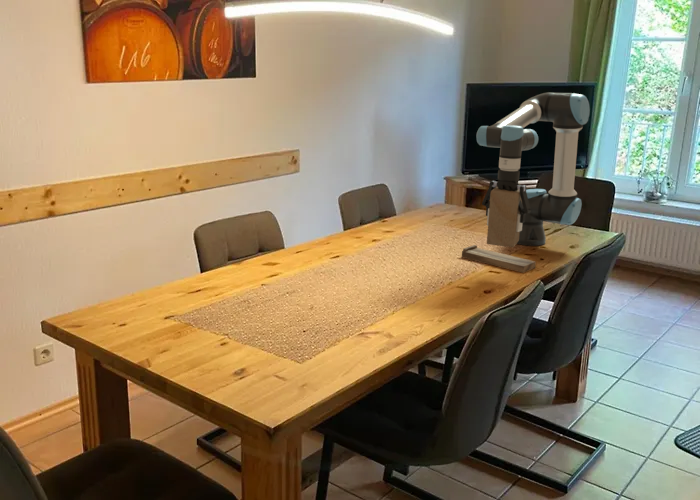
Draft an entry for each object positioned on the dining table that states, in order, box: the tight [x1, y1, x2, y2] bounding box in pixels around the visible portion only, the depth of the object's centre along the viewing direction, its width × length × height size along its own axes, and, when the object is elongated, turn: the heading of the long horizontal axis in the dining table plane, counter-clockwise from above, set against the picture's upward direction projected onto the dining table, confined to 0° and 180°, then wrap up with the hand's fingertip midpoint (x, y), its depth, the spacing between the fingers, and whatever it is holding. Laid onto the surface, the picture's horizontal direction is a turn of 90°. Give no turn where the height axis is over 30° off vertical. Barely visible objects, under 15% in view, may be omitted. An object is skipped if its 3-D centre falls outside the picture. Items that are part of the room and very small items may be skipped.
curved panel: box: [461, 244, 537, 273], centre depth 273 cm, size 9×28×4 cm, turn 47°
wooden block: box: [486, 186, 522, 248], centre depth 252 cm, size 10×10×20 cm
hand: (504, 228), depth 253 cm, fingers closed on wooden block, 12 cm apart
